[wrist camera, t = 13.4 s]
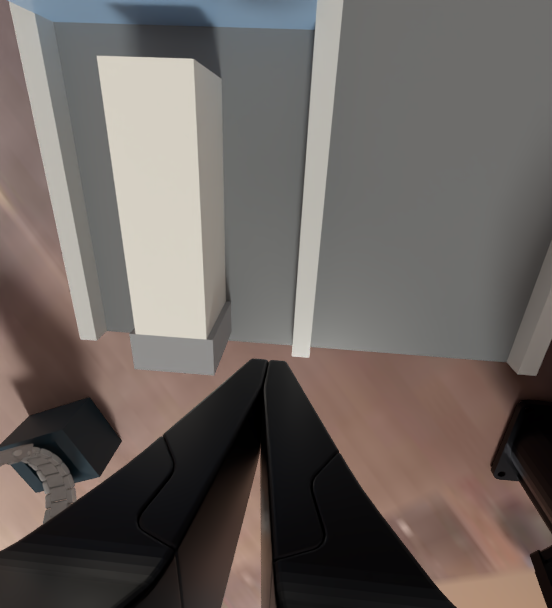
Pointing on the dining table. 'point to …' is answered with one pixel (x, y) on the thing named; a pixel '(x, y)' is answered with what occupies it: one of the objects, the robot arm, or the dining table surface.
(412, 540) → the dining table surface
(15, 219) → the dining table surface
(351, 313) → the grey rimmed tray
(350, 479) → the robot arm
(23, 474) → the bust statue
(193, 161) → the cream rectangular block
